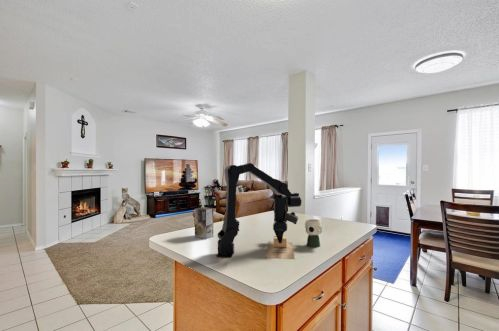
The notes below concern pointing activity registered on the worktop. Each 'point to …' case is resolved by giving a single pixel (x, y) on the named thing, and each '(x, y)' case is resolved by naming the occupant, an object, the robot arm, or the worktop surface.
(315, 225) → the character mug
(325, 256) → the worktop surface
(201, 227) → the coffee box
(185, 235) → the worktop surface
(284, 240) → the block
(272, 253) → the board
